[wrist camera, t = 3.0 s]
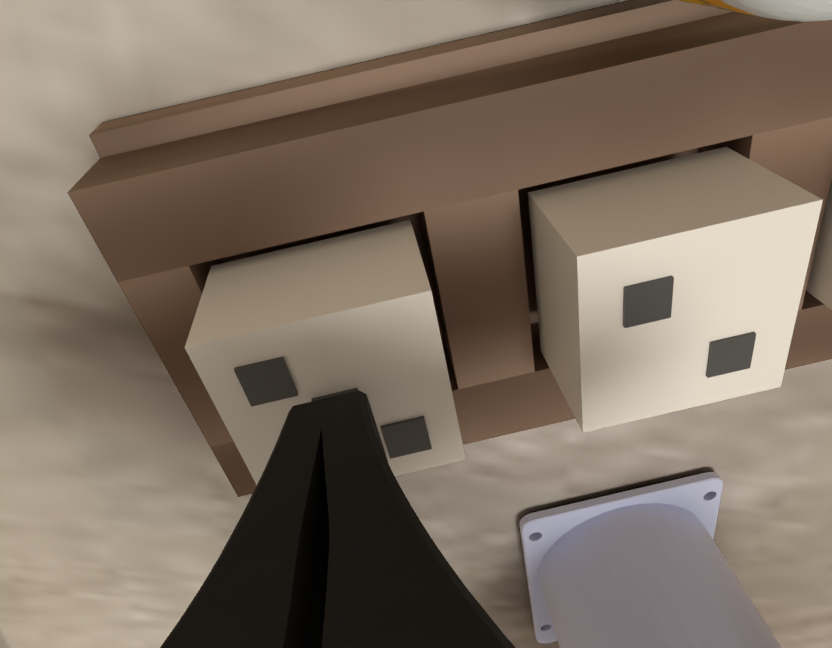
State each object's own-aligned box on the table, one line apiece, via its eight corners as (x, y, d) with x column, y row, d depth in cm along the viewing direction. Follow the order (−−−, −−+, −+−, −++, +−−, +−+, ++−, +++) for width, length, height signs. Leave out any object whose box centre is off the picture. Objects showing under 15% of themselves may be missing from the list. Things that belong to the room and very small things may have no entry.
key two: (706, 312, 15) (783, 389, 13) (540, 350, 15) (584, 435, 13) (725, 146, 13) (826, 201, 10) (527, 192, 13) (578, 258, 10)
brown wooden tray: (920, 277, 19) (1010, 330, 17) (254, 432, 19) (244, 508, 16) (1055, -98, 13) (1221, -103, 11) (103, 121, 13) (53, 167, 11)
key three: (442, 373, 15) (466, 462, 13) (276, 412, 15) (267, 509, 13) (409, 219, 13) (432, 293, 10) (211, 265, 13) (183, 350, 10)
